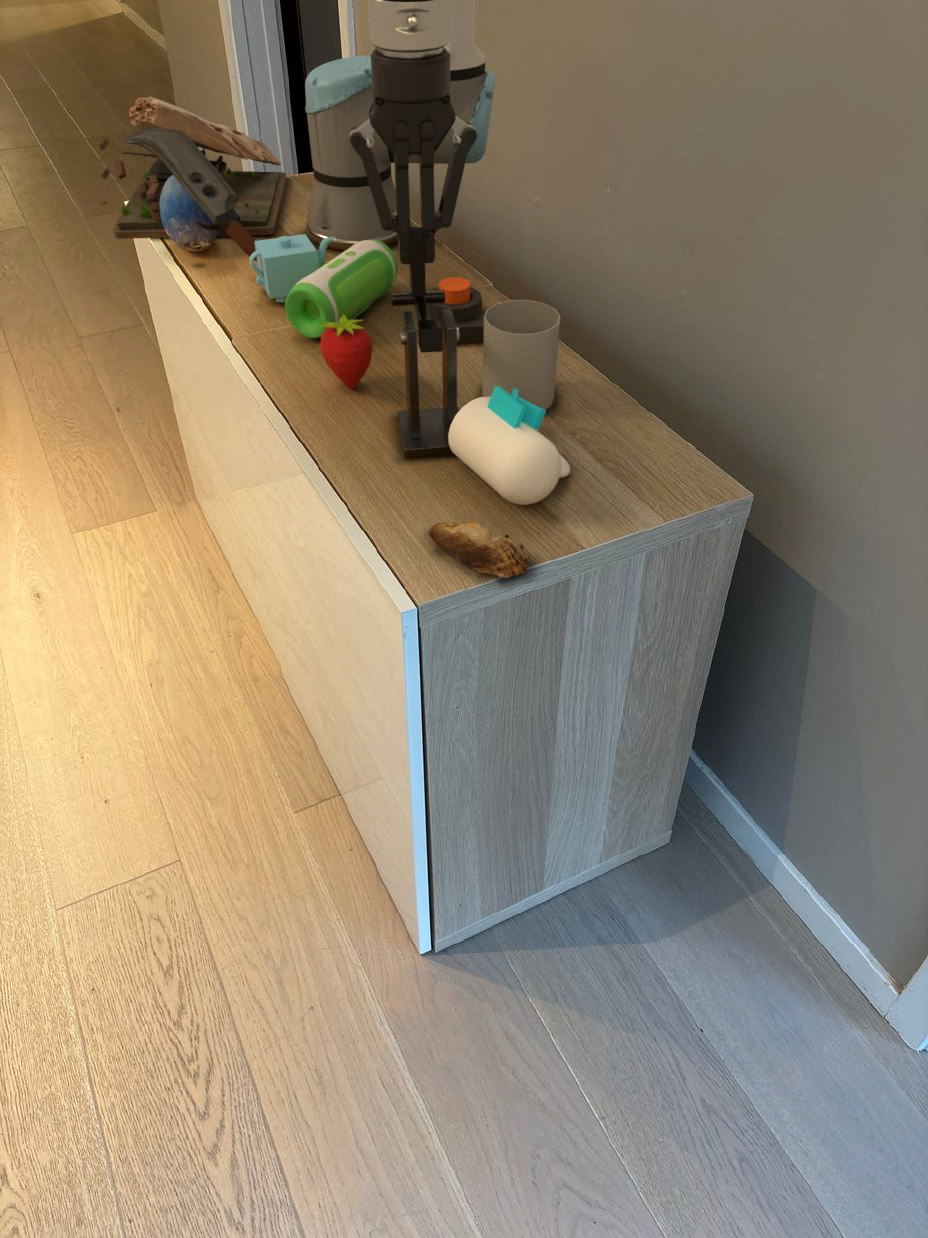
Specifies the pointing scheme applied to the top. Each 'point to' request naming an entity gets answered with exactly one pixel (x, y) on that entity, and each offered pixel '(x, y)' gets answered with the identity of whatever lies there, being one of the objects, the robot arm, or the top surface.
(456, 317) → the control block
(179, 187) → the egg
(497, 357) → the cup
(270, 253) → the teapot
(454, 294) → the button
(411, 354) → the bracket
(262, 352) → the top surface
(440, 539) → the oyster shell
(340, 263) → the speaker
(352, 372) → the strawberry
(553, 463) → the white handled jug
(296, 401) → the top surface
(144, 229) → the tank diorama
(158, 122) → the broken wood plank
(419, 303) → the lever
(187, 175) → the knife
